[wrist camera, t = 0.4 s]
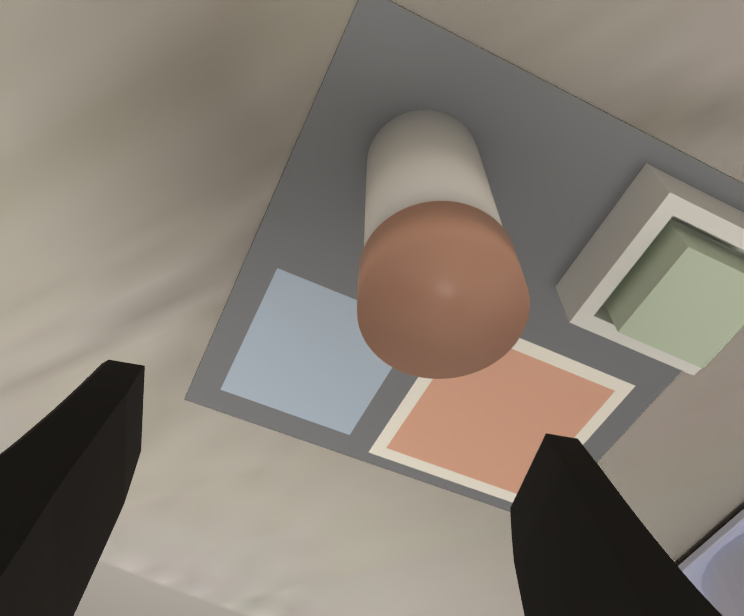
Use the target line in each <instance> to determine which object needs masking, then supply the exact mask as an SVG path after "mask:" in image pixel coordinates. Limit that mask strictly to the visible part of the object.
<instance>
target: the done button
mask: <svg viewBox="0 0 744 616" xmlns="http://www.w3.org/2000/svg"><path fill="white" fill-rule="evenodd" d="M604 305H605V307H606V309H607V311H608V313H609V315H610V317H611V319H612V321H613V323H614V325H615V327H616V329H617V331H618V332H619V333H621V334H624V335H626V336H628V337H630V338H633V339H635V340H637V341H640V342H642V343H644V344H647V345H649V346H651V347H654V348H656V349H658V350H661V351H663V352H665V353H668V354H670V355H672V356H674V357H677V358H679V359H681V360H684V361H686V362H688V363H691V364H693V365H695V366H698V367H700V368H702V369H703V368H704V367H705V366H706V365H707V364H708V363H709V362H710V361H711V360H712V359H713V358H714V357H715V356H716V355H717V354H718V352H719V351H720V350H721V349H722V348H723V347H724V346H725V345H726V344H727V343H728V342H729V341H730V340H731V339H732V338H733V337H734V336H735V334H736V333H737V332H738V331H739V330H740V329H741V328H742V327H743V326H744V254H742V253H740V252H738V251H736V250H734V249H732V248H730V247H728V246H726V245H724V244H722V243H720V242H718V241H716V240H714V239H712V238H710V237H707V236H705V235H703V234H701V233H699V232H697V231H695V230H693V229H691V228H689V227H687V226H685V225H683V224H681V223H679V222H677V221H675V220H673V219H670V220H669V221H668V223H667V224H666V225H665V226H664V228H663V229H662V230H661V231H660V233H659V234H658V235H657V236H656V238H655V239H654V240H653V241H652V243H651V244H650V245H649V247H648V248H647V249H646V250H645V252H644V253H643V254H642V255H641V257H640V258H639V259H638V260H637V262H636V263H635V264H634V265H633V267H632V268H631V269H630V270H629V272H628V273H627V274H626V276H625V277H624V278H623V279H622V281H621V282H620V283H619V284H618V286H617V287H616V288H615V289H614V291H613V292H612V293H611V294H610V296H609V297H608V298H607V300H606V301H605V302H604Z"/></svg>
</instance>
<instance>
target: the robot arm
mask: <svg viewBox="0 0 744 616" xmlns="http://www.w3.org/2000/svg"><path fill="white" fill-rule="evenodd" d="M144 370H145V366H143V365H137V364H131V363H125V362H119V361H113V360H107V361H106V362H104V363H102V364H101V365H100V366H99V367H98V368H97V369H96V370H95V371H94V372H93V373H92V374H91V375H90V376H89V377H88V378H87V379H86V380H85V381H84V382H83V383H82V384H81V385H80V386H79V387H77V388H76V389H75V390H74V391H73V392H72V393H71V394H70V395H69V396H68V397H67V398H66V399H65V400H63V401H62V402H61V403H60V404H59V405H58V406H57V407H56V408H55V409H54V410H53V411H51V412H50V413H49V414H48V415H47V416H46V417H44V418H43V419H42V420H41V421H40V422H39V423H37V424H36V425H35V426H34V427H33V428H32V429H30V430H29V431H28V432H27V433H26V434H25V435H23V436H22V437H21V438H20V439H19V440H17V441H16V442H15V443H14V444H13V445H11V446H10V447H9V448H7V449H6V450H5V451H4V452H2V453H1V454H0V616H74V613H75V611H76V609H77V607H78V605H79V602H80V600H81V598H82V596H83V594H84V591H85V589H86V587H87V585H88V582H89V580H90V578H91V576H92V574H93V572H94V569H95V567H96V565H97V563H98V561H99V558H100V556H101V554H102V552H103V550H104V547H105V545H106V543H107V541H108V539H109V536H110V534H111V532H112V530H113V527H114V525H115V523H116V521H117V519H118V516H119V514H120V512H121V510H122V507H123V505H124V502H125V499H126V496H127V493H128V490H129V487H130V484H131V481H132V478H133V474H134V471H135V468H136V465H137V462H138V458H139V455H140V452H141V437H142V415H143V392H144ZM510 512H511V529H512V543H513V555H514V564H515V569H516V574H517V579H518V584H519V589H520V594H521V600H522V605H523V609H524V614H525V616H744V509H743V510H742V511H740V512H739V513H738V514H737V515H736V516H735V517H734V518H732V519H731V520H730V521H729V522H728V523H727V524H726V525H724V526H723V527H722V528H721V529H720V530H719V531H718V532H716V533H715V534H714V535H713V536H712V537H711V538H709V539H708V540H707V541H706V542H705V543H704V544H703V545H701V546H700V547H699V548H698V549H697V550H696V551H695V552H693V553H692V554H691V555H690V556H689V557H688V558H687V559H685V560H684V561H683V562H682V563H681V564H680V565H678V566H677V565H676V564H675V563H674V561H673V560H672V559H671V558H670V557H669V556H668V554H667V553H666V552H665V551H664V550H663V548H662V547H661V546H660V545H659V543H658V542H657V541H656V540H655V539H654V537H653V536H652V535H651V534H650V532H649V531H648V530H647V529H646V527H645V526H644V525H643V523H642V522H641V521H640V520H639V518H638V517H637V516H636V514H635V513H634V512H633V511H632V509H631V508H630V507H629V505H628V504H627V503H626V501H625V500H624V499H623V497H622V496H621V495H620V493H619V492H618V491H617V489H616V488H615V487H614V485H613V484H612V483H611V481H610V480H609V479H608V477H607V476H606V475H605V473H604V472H603V471H602V469H601V468H600V467H599V465H598V464H597V463H596V461H595V460H594V459H593V457H592V456H591V455H590V453H589V452H588V451H587V450H586V448H585V447H584V446H583V444H582V443H581V442H580V441H579V439H577V438H571V437H565V436H559V435H553V434H547V433H546V434H545V436H544V438H543V440H542V443H541V445H540V447H539V449H538V451H537V453H536V455H535V457H534V459H533V461H532V463H531V466H530V468H529V470H528V472H527V474H526V476H525V478H524V480H523V482H522V484H521V487H520V489H519V491H518V493H517V495H516V497H515V499H514V501H513V503H512V505H511V507H510Z"/></svg>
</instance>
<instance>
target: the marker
mask: <svg viewBox="0 0 744 616" xmlns="http://www.w3.org/2000/svg"><path fill="white" fill-rule="evenodd" d="M529 309H530V297H529V292H528V287H527V284H526V281H525V278H524V275H523V272H522V269H521V266H520V263H519V260H518V257H517V254H516V251H515V248H514V246H513V243H512V241H511V239H510V237H509V235H508V233H507V232H506V231H505V229H504V228H503V226H502V223H501V220H500V217H499V214H498V211H497V208H496V205H495V201H494V198H493V195H492V192H491V189H490V186H489V183H488V180H487V176H486V173H485V170H484V167H483V164H482V161H481V158H480V154H479V151H478V148H477V145H476V143H475V140H474V138H473V136H472V134H471V133H470V132H469V130H468V129H467V128H466V127H465V126H464V125H463V124H462V123H461V122H460V121H458V120H457V119H456V118H454V117H452V116H450V115H448V114H446V113H443V112H439V111H435V110H415V111H410V112H407V113H404V114H401V115H399V116H397V117H395V118H394V119H392V120H391V121H389V122H388V123H387V124H385V125H384V126H383V127H382V128H381V129H380V131H379V132H378V133H377V134H376V136H375V138H374V139H373V141H372V143H371V146H370V148H369V152H368V156H367V170H366V200H365V230H364V248H363V251H362V254H361V257H360V262H359V270H358V293H357V320H358V325H359V328H360V331H361V334H362V336H363V338H364V340H365V342H366V344H367V345H368V346H369V348H370V349H371V350H372V351H373V353H374V354H375V355H376V356H377V357H378V358H380V359H381V360H382V361H383V362H385V363H386V364H388V365H389V366H391V367H393V368H394V369H397V370H399V371H401V372H403V373H406V374H409V375H412V376H417V377H421V378H429V379H449V378H457V377H461V376H466V375H469V374H472V373H475V372H478V371H480V370H482V369H485V368H487V367H488V366H490V365H492V364H494V363H495V362H496V361H498V360H499V359H501V358H502V357H503V356H504V355H505V354H506V353H508V352H509V351H510V350H511V348H512V347H513V346H514V345H515V344H516V343H517V341H518V339H519V338H520V336H521V335H522V333H523V331H524V328H525V326H526V323H527V320H528V316H529Z"/></svg>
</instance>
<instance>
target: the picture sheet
mask: <svg viewBox="0 0 744 616" xmlns="http://www.w3.org/2000/svg"><path fill="white" fill-rule="evenodd" d="M415 110H435V111H439V112H443V113H446V114H448V115H450V116H452V117H454V118H456V119H457V120H458V121H460V122H461V123H462V124H463V125H464V126H465V127H466V128H467V129H468V130H469V132H470V133H471V134H472V136H473V138H474V140H475V143H476V145H477V148H478V151H479V154H480V158H481V161H482V164H483V167H484V170H485V173H486V176H487V180H488V183H489V186H490V189H491V192H492V195H493V198H494V201H495V205H496V208H497V211H498V214H499V217H500V220H501V223H502V226H503V228H504V229H505V231H506V232H507V233H508V235H509V237H510V239H511V241H512V243H513V246H514V248H515V251H516V254H517V257H518V260H519V263H520V266H521V269H522V272H523V275H524V278H525V281H526V284H527V287H528V292H529V297H530V309H529V316H528V320H527V323H526V326H525V328H524V331H523V333H522V335H521V336H520V338H519V339H518V341H517V343H516V344H515V345H514V346H513V347H512V348H511V350H510V351H509V352H508V353H506V354H505V355H504V356H503V357H502V358H501V359H499V360H498V361H496V362H495V363H494V364H492V365H490V366H488V367H487V368H485V369H482V370H480V371H478V372H475V373H472V374H469V375H466V376H461V377H457V378H449V379H429V378H421V377H417V376H412V375H409V374H406V373H403V372H401V371H399V370H397V369H394V368H393V367H391V366H389V365H388V364H386V363H385V362H383V361H382V360H381V359H380V358H378V357H377V356H376V355H375V354H374V353H373V351H372V350H371V349H370V348H369V346H368V345H367V344H366V342H365V340H364V338H363V336H362V334H361V331H360V328H359V325H358V320H357V293H358V270H359V262H360V257H361V254H362V251H363V248H364V230H365V200H366V170H367V156H368V152H369V148H370V146H371V143H372V141H373V139H374V138H375V136H376V134H377V133H378V132H379V131H380V129H381V128H382V127H383V126H384V125H385V124H387V123H388V122H389V121H391V120H392V119H394V118H395V117H397V116H399V115H401V114H404V113H407V112H410V111H415ZM646 163H647V164H649V165H651V166H653V167H655V168H657V169H659V170H661V171H662V172H664V173H666V174H668V175H670V176H672V177H674V178H676V179H678V180H680V181H682V182H684V183H686V184H688V185H690V186H692V187H694V188H696V189H698V190H700V191H702V192H704V193H706V194H708V195H710V196H712V197H714V198H716V199H718V200H720V201H722V202H724V203H726V204H728V205H730V206H732V207H734V208H736V209H738V210H740V211H742V212H744V184H743V183H741V182H739V181H737V180H735V179H733V178H731V177H730V176H728V175H726V174H724V173H722V172H720V171H718V170H716V169H714V168H712V167H710V166H708V165H706V164H704V163H703V162H701V161H699V160H697V159H695V158H693V157H691V156H689V155H687V154H685V153H683V152H681V151H679V150H677V149H675V148H674V147H672V146H670V145H668V144H666V143H664V142H662V141H660V140H658V139H656V138H654V137H652V136H650V135H648V134H647V133H645V132H643V131H641V130H639V129H637V128H635V127H633V126H631V125H629V124H627V123H625V122H623V121H621V120H620V119H618V118H616V117H614V116H612V115H610V114H608V113H606V112H604V111H602V110H600V109H598V108H596V107H594V106H592V105H591V104H589V103H587V102H585V101H583V100H581V99H579V98H577V97H575V96H573V95H571V94H569V93H567V92H565V91H564V90H562V89H560V88H558V87H556V86H554V85H552V84H550V83H548V82H546V81H544V80H542V79H540V78H538V77H536V76H535V75H533V74H531V73H529V72H527V71H525V70H523V69H521V68H519V67H517V66H515V65H513V64H511V63H509V62H508V61H506V60H504V59H502V58H500V57H498V56H496V55H494V54H492V53H490V52H488V51H486V50H484V49H482V48H480V47H479V46H477V45H475V44H473V43H471V42H469V41H467V40H465V39H463V38H461V37H459V36H457V35H455V34H453V33H452V32H450V31H448V30H446V29H444V28H442V27H440V26H438V25H436V24H434V23H432V22H430V21H428V20H426V19H424V18H423V17H421V16H419V15H417V14H415V13H413V12H411V11H409V10H407V9H405V8H403V7H401V6H399V5H397V4H396V3H394V2H392V1H390V0H358V2H357V4H356V7H355V9H354V11H353V14H352V16H351V18H350V21H349V23H348V25H347V27H346V30H345V32H344V34H343V37H342V39H341V41H340V44H339V46H338V48H337V50H336V53H335V55H334V57H333V60H332V62H331V64H330V66H329V69H328V71H327V73H326V76H325V78H324V80H323V83H322V85H321V87H320V89H319V92H318V94H317V96H316V99H315V101H314V103H313V106H312V108H311V110H310V112H309V115H308V117H307V119H306V122H305V124H304V126H303V128H302V131H301V133H300V135H299V138H298V140H297V142H296V145H295V147H294V149H293V151H292V154H291V156H290V158H289V161H288V163H287V165H286V168H285V170H284V172H283V174H282V177H281V179H280V181H279V184H278V186H277V188H276V191H275V193H274V195H273V197H272V200H271V202H270V204H269V207H268V209H267V211H266V213H265V216H264V218H263V220H262V223H261V225H260V227H259V230H258V232H257V234H256V236H255V239H254V241H253V243H252V246H251V248H250V250H249V253H248V255H247V257H246V259H245V262H244V264H243V266H242V269H241V271H240V273H239V275H238V278H237V280H236V282H235V285H234V287H233V289H232V292H231V294H230V296H229V298H228V301H227V303H226V305H225V308H224V310H223V312H222V315H221V317H220V319H219V321H218V324H217V326H216V328H215V331H214V333H213V335H212V338H211V340H210V342H209V344H208V347H207V349H206V351H205V354H204V356H203V358H202V360H201V363H200V365H199V367H198V370H197V372H196V374H195V377H194V379H193V381H192V383H191V386H190V388H189V390H188V393H187V395H186V397H185V400H187V401H190V402H193V403H196V404H199V405H202V406H205V407H208V408H211V409H213V410H216V411H219V412H222V413H225V414H228V415H231V416H234V417H237V418H240V419H242V420H245V421H248V422H251V423H254V424H257V425H260V426H263V427H266V428H269V429H272V430H274V431H277V432H280V433H283V434H286V435H289V436H292V437H295V438H298V439H301V440H303V441H306V442H309V443H312V444H315V445H318V446H321V447H324V448H327V449H330V450H332V451H335V452H338V453H341V454H344V455H347V456H350V457H353V458H356V459H359V460H362V461H364V462H367V463H370V464H373V465H376V466H379V467H382V468H385V469H388V470H391V471H393V472H396V473H399V474H402V475H405V476H408V477H411V478H414V479H417V480H420V481H423V482H425V483H428V484H431V485H434V486H437V487H440V488H443V489H446V490H449V491H452V492H454V493H457V494H460V495H463V496H466V497H469V498H472V499H475V500H478V501H481V502H483V503H486V504H489V505H492V506H495V507H498V508H501V509H504V510H507V511H510V507H511V505H512V503H513V501H514V499H515V497H516V495H517V493H518V491H519V489H520V487H521V484H522V482H523V480H524V478H525V476H526V474H527V472H528V470H529V468H530V466H531V463H532V461H533V459H534V457H535V455H536V453H537V451H538V449H539V447H540V445H541V443H542V440H543V438H544V436H545V434H546V433H547V434H553V435H559V436H565V437H571V438H577V439H579V441H580V442H581V443H582V444H583V446H584V447H585V448H586V450H587V451H588V452H589V453H590V455H591V456H592V457H593V459H594V460H595V461H596V463H597V462H598V461H599V459H600V458H601V457H602V456H603V455H604V454H605V453H606V452H607V451H608V450H609V449H610V448H611V447H612V445H613V444H614V443H615V442H616V441H617V440H618V439H619V438H620V437H621V436H622V435H623V434H624V432H625V431H626V430H627V429H628V428H629V427H630V426H631V425H632V424H633V423H634V422H635V421H636V420H637V418H638V417H639V416H640V415H641V414H642V413H643V412H644V411H645V410H646V409H647V408H648V407H649V405H650V404H651V403H652V402H653V401H654V400H655V399H656V398H657V397H658V396H659V395H660V394H661V392H662V391H663V390H664V389H665V388H666V387H667V386H668V385H669V384H670V383H671V382H672V381H673V380H674V378H675V377H676V376H677V375H678V374H679V373H680V372H681V371H682V370H679V369H677V368H675V367H672V366H670V365H668V364H665V363H663V362H661V361H658V360H656V359H654V358H651V357H649V356H647V355H644V354H642V353H640V352H637V351H635V350H633V349H630V348H628V347H626V346H623V345H621V344H619V343H616V342H614V341H612V340H609V339H607V338H605V337H602V336H600V335H598V334H595V333H593V332H590V331H588V330H586V329H583V328H581V327H579V326H576V325H574V324H572V323H569V320H568V318H567V315H566V313H565V310H564V308H563V305H562V303H561V300H560V297H559V295H558V292H557V290H556V285H557V284H558V282H559V281H560V280H561V278H562V277H563V276H564V274H565V273H566V272H567V270H568V269H569V267H570V266H571V265H572V263H573V262H574V261H575V259H576V258H577V257H578V255H579V254H580V253H581V251H582V250H583V248H584V247H585V246H586V244H587V243H588V242H589V240H590V239H591V238H592V236H593V235H594V233H595V232H596V231H597V229H598V228H599V227H600V225H601V224H602V223H603V221H604V220H605V219H606V217H607V216H608V214H609V213H610V212H611V210H612V209H613V208H614V206H615V205H616V204H617V202H618V201H619V199H620V198H621V197H622V195H623V194H624V193H625V191H626V190H627V189H628V187H629V186H630V185H631V183H632V182H633V180H634V179H635V178H636V176H637V175H638V174H639V172H640V171H641V170H642V168H643V167H644V165H645V164H646Z"/></svg>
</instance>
